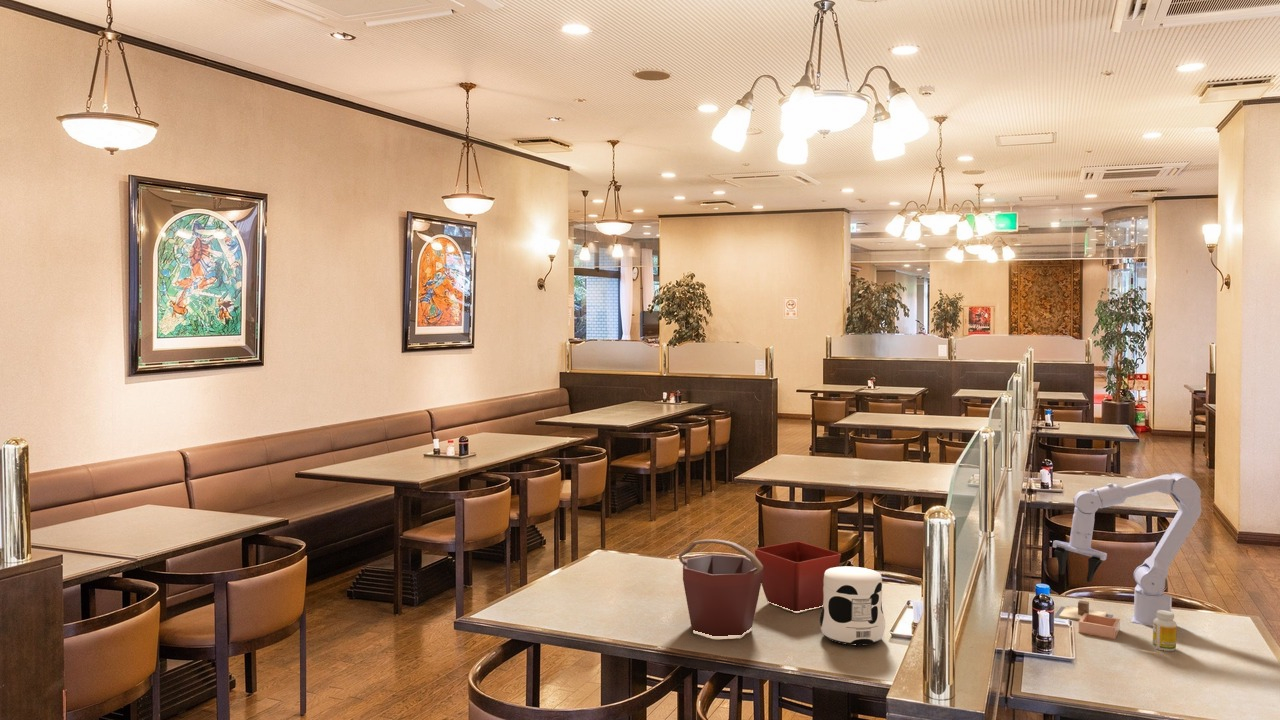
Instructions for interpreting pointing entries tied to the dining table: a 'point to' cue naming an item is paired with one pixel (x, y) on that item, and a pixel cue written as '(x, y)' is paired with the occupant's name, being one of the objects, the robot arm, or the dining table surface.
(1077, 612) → the lid
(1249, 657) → the dining table surface
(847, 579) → the milk container
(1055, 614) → the mat
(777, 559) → the plant pot
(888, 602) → the dining table surface
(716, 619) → the bucket
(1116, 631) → the terracotta open box
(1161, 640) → the supplement bottle
